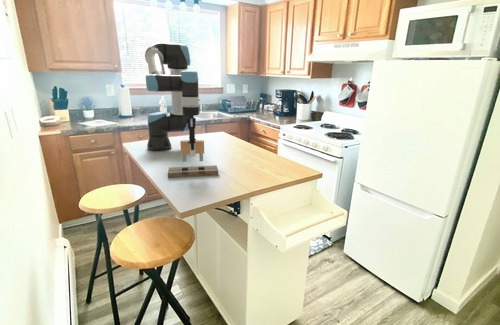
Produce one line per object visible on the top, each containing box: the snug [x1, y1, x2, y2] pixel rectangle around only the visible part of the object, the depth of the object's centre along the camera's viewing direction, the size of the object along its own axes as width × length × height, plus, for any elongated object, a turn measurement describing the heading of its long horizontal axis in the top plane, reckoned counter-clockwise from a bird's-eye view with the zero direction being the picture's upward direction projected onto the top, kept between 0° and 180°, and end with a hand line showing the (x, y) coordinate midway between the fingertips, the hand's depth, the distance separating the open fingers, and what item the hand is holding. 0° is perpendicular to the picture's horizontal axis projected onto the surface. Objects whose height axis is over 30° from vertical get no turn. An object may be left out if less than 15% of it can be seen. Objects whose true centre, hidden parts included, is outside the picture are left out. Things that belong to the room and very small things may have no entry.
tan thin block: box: [179, 139, 205, 163], centre depth 130 cm, size 3×11×10 cm, turn 103°
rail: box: [167, 164, 219, 179], centre depth 133 cm, size 8×24×2 cm, turn 103°
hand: (192, 154), depth 131 cm, fingers closed on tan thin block, 3 cm apart
